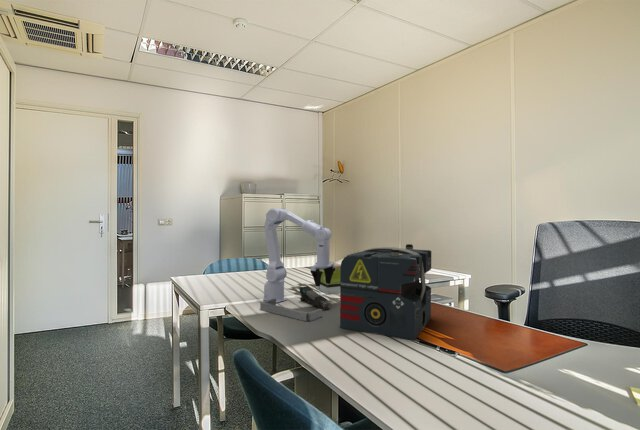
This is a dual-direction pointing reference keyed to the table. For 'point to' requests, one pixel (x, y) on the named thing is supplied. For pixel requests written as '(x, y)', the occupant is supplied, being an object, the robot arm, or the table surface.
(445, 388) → the table surface
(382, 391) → the table surface
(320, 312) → the slate box
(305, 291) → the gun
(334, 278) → the tea box
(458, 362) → the table surface
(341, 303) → the power unit
